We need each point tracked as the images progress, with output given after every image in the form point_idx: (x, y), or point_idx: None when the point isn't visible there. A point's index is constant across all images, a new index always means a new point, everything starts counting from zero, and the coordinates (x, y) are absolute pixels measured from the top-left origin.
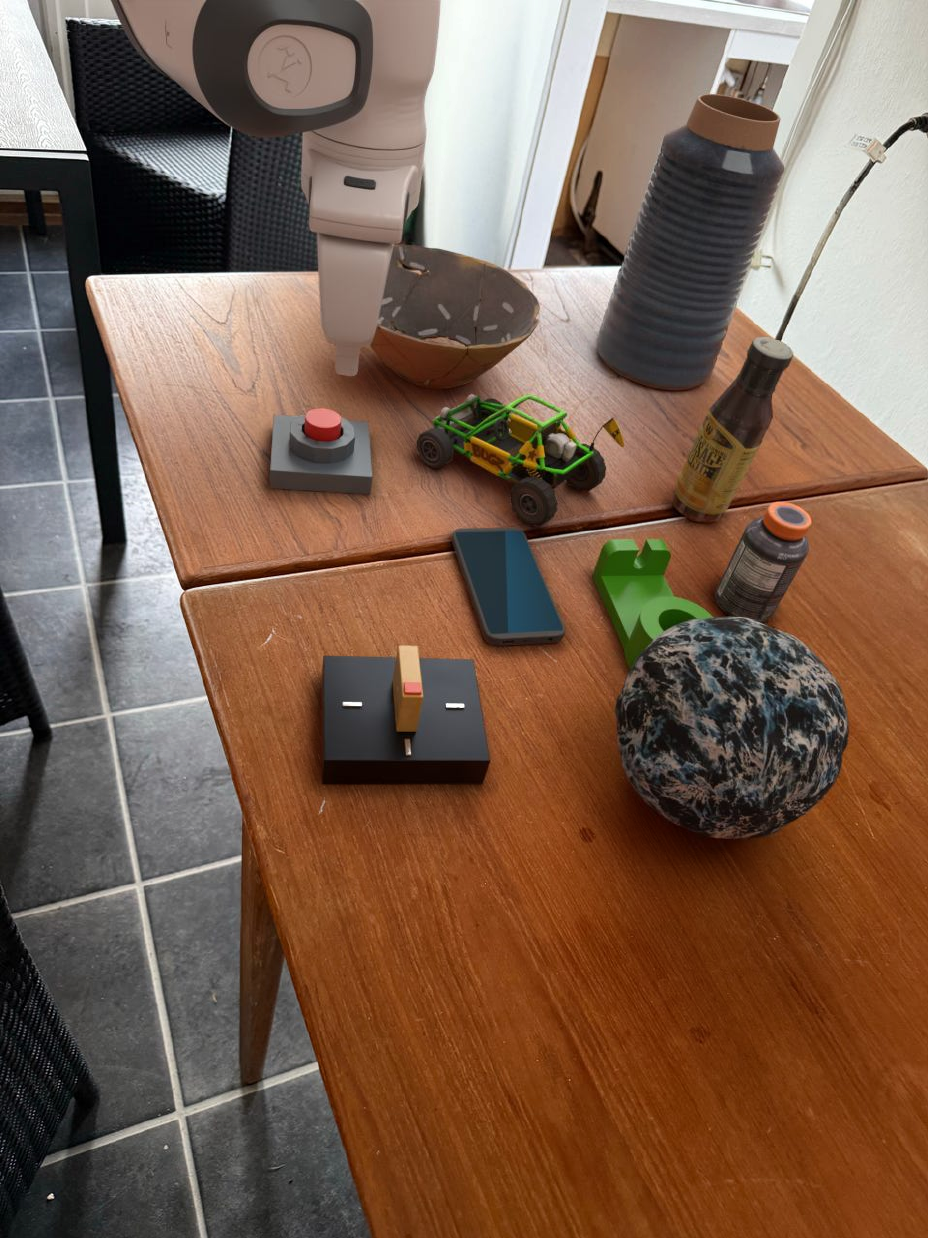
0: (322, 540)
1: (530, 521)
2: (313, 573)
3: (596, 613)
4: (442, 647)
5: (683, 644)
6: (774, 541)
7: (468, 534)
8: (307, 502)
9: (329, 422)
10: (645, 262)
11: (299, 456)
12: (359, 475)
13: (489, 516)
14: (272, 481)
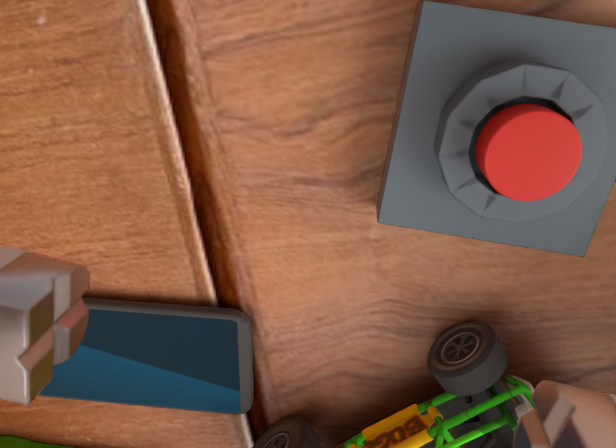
0: (244, 92)
1: (269, 431)
2: (152, 61)
3: (96, 437)
4: (6, 232)
5: None
6: None
7: (231, 338)
8: (362, 79)
9: (508, 169)
10: None
11: (467, 79)
12: (383, 198)
13: (302, 378)
14: (418, 7)
